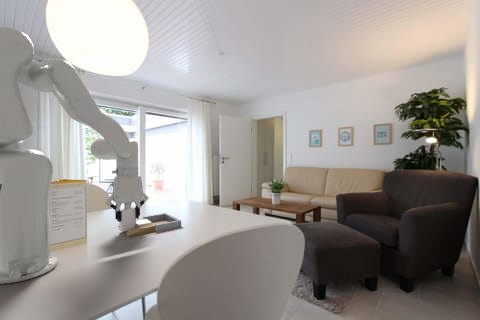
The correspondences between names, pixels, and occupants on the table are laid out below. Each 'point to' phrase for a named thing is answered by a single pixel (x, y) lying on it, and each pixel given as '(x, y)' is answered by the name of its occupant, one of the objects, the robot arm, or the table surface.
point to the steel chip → (143, 223)
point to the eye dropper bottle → (128, 218)
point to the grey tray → (164, 226)
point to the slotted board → (146, 230)
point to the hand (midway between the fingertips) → (128, 219)
